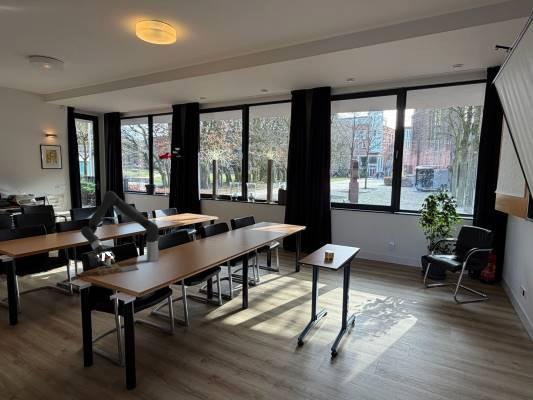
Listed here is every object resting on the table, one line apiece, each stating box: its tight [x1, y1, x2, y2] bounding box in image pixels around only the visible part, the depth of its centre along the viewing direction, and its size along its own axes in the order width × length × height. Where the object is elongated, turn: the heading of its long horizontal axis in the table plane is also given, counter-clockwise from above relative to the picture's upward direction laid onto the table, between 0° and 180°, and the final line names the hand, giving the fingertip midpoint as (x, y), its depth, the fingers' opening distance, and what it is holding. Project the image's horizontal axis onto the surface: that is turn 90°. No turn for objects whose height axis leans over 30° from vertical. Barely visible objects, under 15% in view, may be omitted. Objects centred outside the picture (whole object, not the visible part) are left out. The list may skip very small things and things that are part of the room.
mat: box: [119, 264, 139, 273], centre depth 247 cm, size 12×12×1 cm
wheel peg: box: [105, 256, 112, 268], centre depth 239 cm, size 4×4×12 cm
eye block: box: [96, 263, 121, 276], centre depth 240 cm, size 14×12×4 cm
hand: (110, 264), depth 239 cm, fingers open, 7 cm apart
